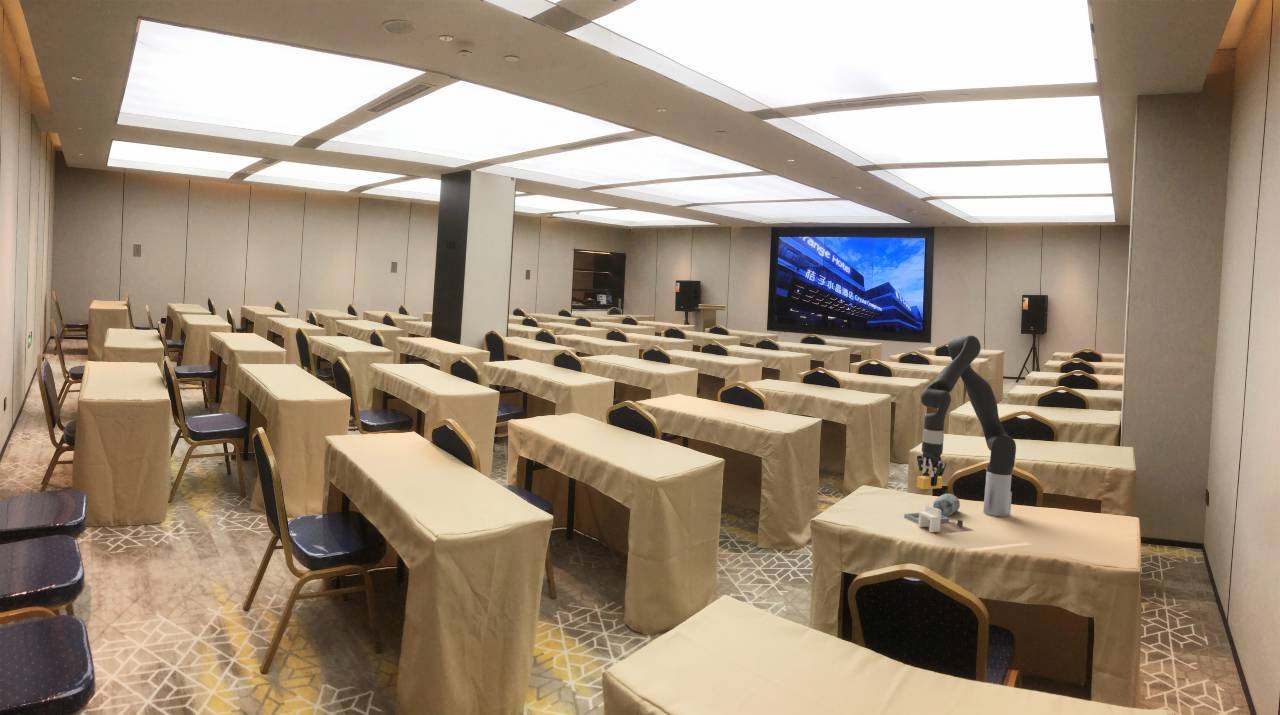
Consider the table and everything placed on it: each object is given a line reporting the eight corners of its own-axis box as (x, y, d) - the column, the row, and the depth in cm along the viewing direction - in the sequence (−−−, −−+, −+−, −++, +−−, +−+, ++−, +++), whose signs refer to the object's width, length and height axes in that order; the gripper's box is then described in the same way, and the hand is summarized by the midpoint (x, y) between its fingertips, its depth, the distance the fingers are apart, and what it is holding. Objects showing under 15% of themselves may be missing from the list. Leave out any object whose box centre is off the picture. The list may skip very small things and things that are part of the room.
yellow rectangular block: (935, 485, 284) (935, 475, 284) (941, 487, 281) (942, 477, 280) (916, 486, 281) (917, 476, 281) (923, 489, 278) (923, 478, 277)
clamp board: (954, 524, 281) (954, 515, 280) (973, 532, 271) (974, 523, 271) (916, 527, 275) (916, 519, 274) (935, 536, 265) (935, 527, 265)
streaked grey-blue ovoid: (955, 514, 283) (947, 489, 287) (932, 519, 289) (924, 495, 293) (968, 515, 292) (960, 491, 296) (946, 521, 298) (938, 497, 302)
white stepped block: (926, 525, 274) (928, 504, 273) (939, 531, 268) (941, 510, 267) (918, 526, 273) (919, 505, 272) (931, 532, 267) (932, 511, 266)
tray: (931, 517, 289) (932, 511, 289) (948, 524, 280) (949, 518, 280) (904, 519, 284) (904, 513, 284) (920, 527, 276) (920, 521, 276)
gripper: (912, 437, 284) (909, 480, 286) (938, 445, 271) (935, 490, 273) (927, 436, 287) (924, 479, 289) (954, 444, 274) (950, 489, 275)
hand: (929, 484), depth 281 cm, fingers closed on yellow rectangular block, 3 cm apart
